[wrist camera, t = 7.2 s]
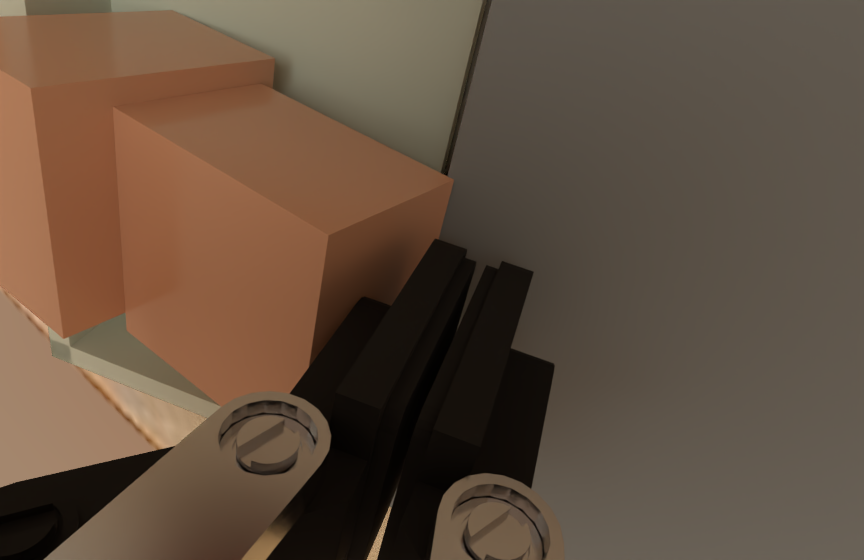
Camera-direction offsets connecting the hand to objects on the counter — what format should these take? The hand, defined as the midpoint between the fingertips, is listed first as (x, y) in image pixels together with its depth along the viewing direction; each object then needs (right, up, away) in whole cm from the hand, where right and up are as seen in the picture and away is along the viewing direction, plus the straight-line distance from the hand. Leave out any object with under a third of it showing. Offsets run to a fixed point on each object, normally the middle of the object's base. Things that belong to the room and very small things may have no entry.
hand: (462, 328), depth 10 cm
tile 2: (-2, +2, +2) cm, 4 cm away
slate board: (+5, +1, +3) cm, 6 cm away
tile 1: (-5, +2, +1) cm, 6 cm away
